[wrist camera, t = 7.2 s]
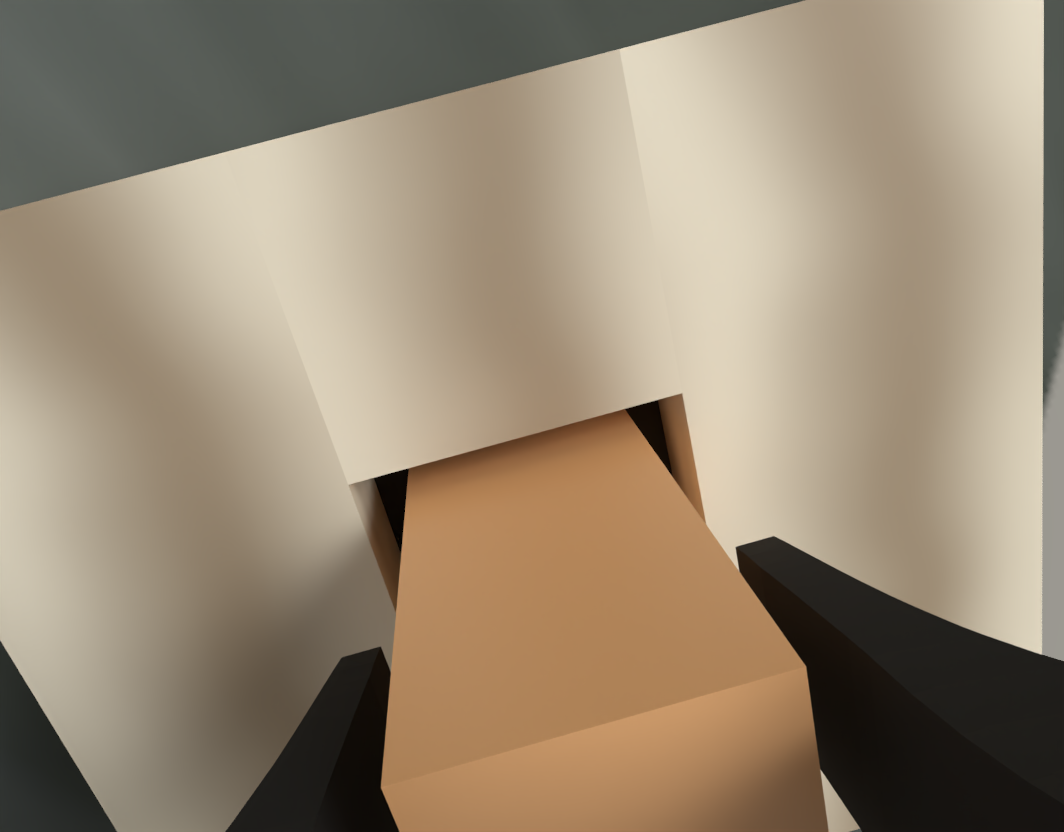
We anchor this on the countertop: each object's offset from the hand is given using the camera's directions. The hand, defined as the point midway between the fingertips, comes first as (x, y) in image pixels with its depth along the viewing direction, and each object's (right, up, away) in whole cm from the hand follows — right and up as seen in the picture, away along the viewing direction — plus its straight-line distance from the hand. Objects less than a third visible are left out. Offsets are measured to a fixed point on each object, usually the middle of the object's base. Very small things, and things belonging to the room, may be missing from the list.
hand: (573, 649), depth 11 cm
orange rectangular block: (-1, +2, +4) cm, 4 cm away
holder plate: (0, +1, +4) cm, 4 cm away
